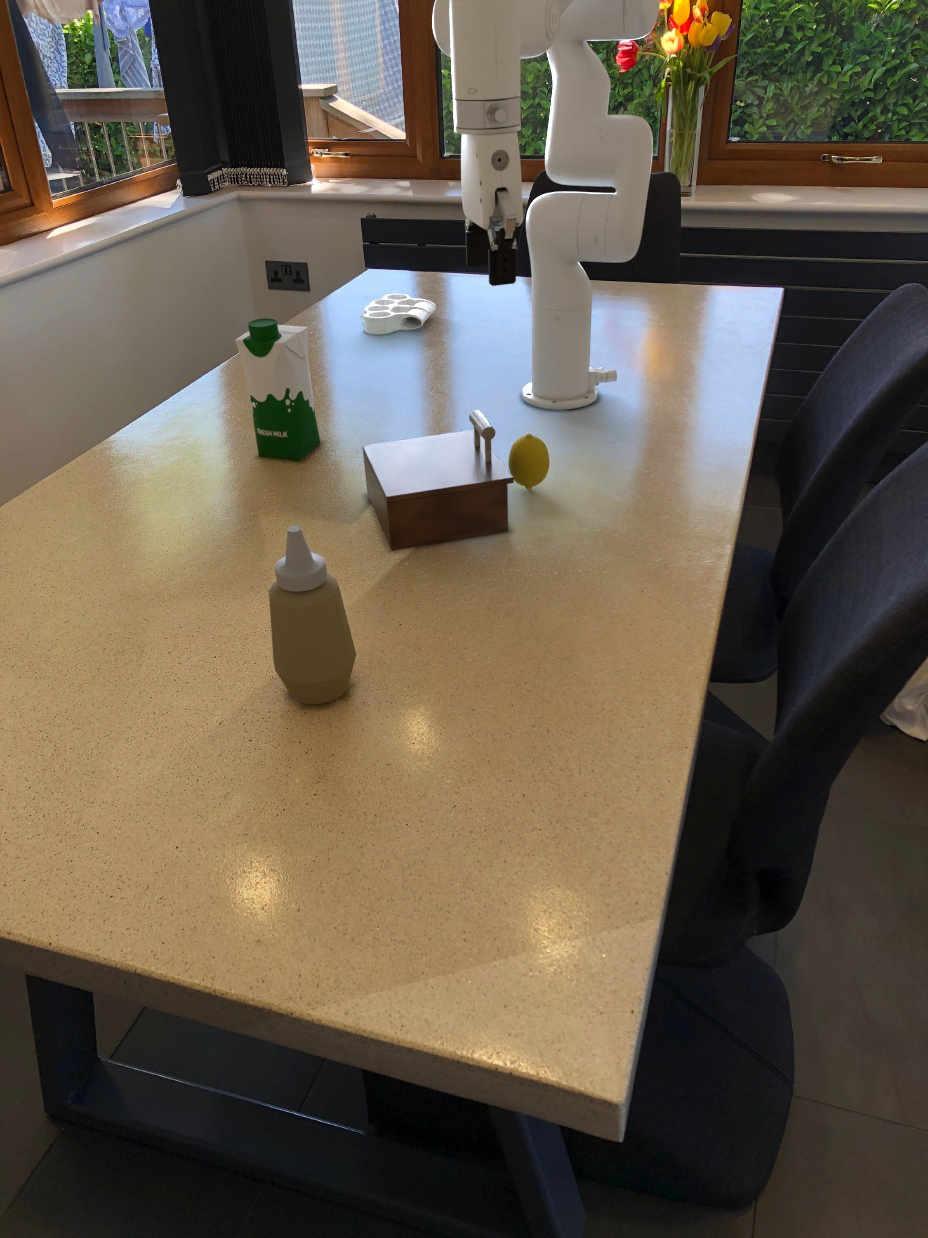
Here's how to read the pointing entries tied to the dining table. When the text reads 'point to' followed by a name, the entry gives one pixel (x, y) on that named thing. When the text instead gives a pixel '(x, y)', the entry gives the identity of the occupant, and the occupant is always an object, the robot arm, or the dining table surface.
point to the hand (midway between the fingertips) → (490, 274)
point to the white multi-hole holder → (396, 314)
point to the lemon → (529, 461)
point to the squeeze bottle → (309, 625)
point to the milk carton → (279, 389)
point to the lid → (438, 463)
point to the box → (438, 514)
